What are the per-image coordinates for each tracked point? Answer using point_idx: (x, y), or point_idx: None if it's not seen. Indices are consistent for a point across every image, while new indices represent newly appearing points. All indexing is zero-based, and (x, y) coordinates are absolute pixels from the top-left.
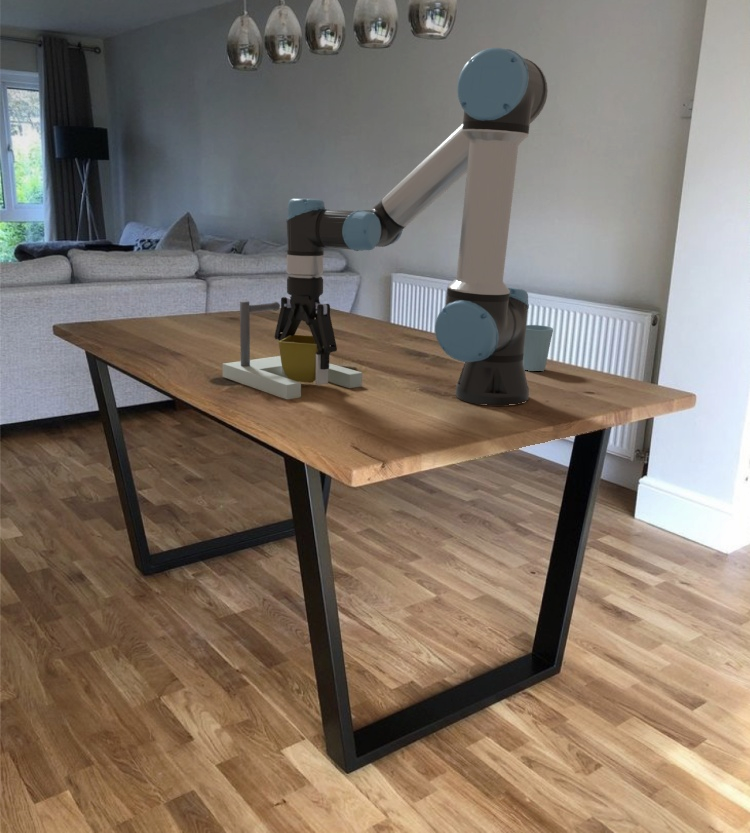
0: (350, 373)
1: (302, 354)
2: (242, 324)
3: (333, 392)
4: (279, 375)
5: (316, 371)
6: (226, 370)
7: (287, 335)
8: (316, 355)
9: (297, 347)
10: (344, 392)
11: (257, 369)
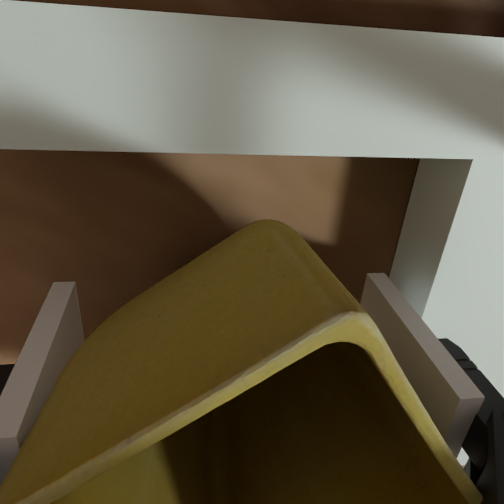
0: None
1: (129, 366)
2: None
3: (28, 318)
4: (403, 269)
5: (47, 332)
6: None
7: (488, 490)
8: (10, 425)
9: (156, 388)
10: (3, 355)
11: (474, 145)
